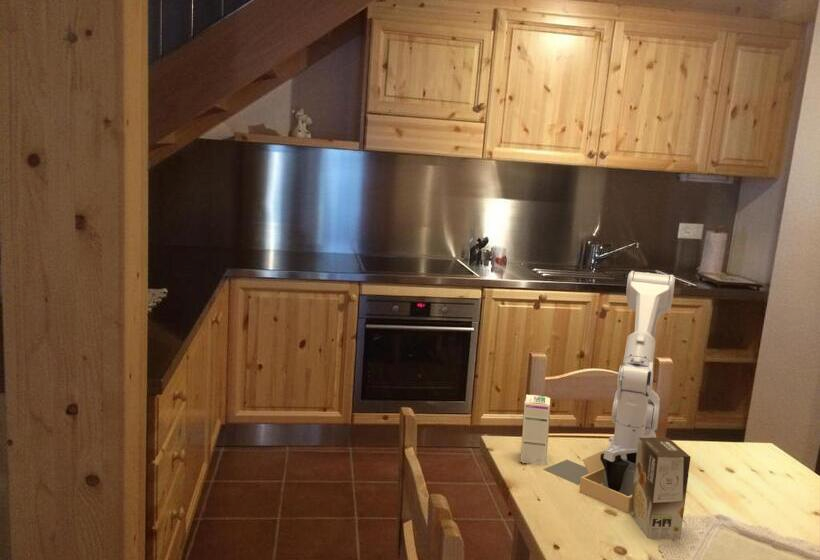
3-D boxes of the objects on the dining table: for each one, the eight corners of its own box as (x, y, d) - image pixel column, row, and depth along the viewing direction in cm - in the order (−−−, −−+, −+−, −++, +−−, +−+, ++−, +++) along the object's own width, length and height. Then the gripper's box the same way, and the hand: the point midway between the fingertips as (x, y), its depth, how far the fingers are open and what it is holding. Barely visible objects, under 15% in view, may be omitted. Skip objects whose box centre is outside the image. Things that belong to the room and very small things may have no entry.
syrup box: (546, 467, 151) (551, 404, 149) (519, 463, 153) (524, 401, 150) (546, 456, 157) (551, 396, 155) (520, 453, 158) (525, 393, 156)
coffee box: (682, 541, 123) (692, 457, 120) (648, 540, 122) (658, 456, 120) (659, 515, 132) (669, 437, 130) (627, 515, 131) (636, 436, 129)
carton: (610, 471, 151) (613, 445, 150) (673, 497, 140) (677, 469, 139) (571, 490, 141) (574, 462, 140) (636, 518, 130) (639, 489, 129)
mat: (566, 461, 155) (567, 459, 155) (601, 475, 149) (601, 473, 149) (542, 471, 149) (542, 469, 149) (577, 486, 143) (577, 484, 143)
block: (612, 482, 144) (615, 455, 143) (643, 495, 139) (646, 466, 138) (602, 487, 142) (605, 459, 141) (633, 501, 137) (636, 471, 136)
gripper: (631, 409, 146) (624, 469, 148) (593, 423, 136) (586, 487, 138) (662, 419, 141) (654, 481, 143) (625, 434, 131) (617, 500, 133)
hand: (623, 485), depth 140 cm, fingers open, 7 cm apart
